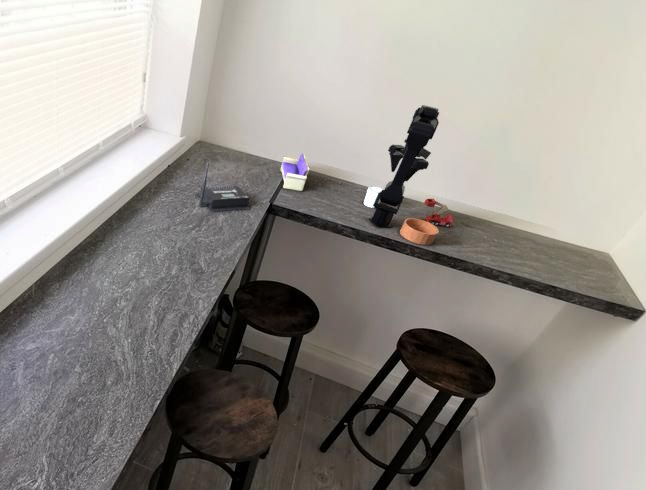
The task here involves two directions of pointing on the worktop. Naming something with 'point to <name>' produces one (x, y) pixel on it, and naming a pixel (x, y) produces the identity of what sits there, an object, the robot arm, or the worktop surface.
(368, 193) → the shot glass
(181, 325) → the worktop surface
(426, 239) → the bowl
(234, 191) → the black wifi router
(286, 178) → the toy sofa
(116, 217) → the worktop surface
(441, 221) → the toy fire truck
